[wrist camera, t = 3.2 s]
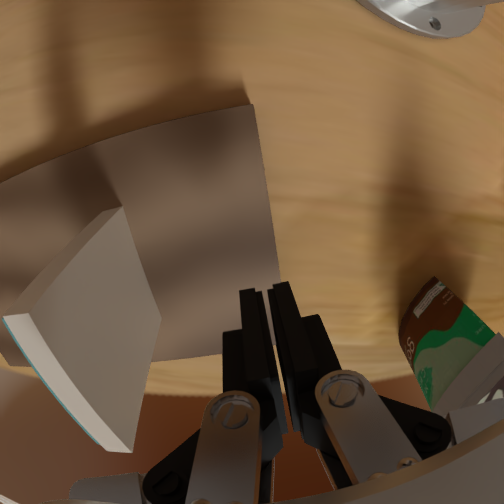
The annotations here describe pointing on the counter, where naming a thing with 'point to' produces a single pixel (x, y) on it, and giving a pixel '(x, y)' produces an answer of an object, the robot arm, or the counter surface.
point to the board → (155, 222)
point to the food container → (451, 351)
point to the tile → (92, 329)
